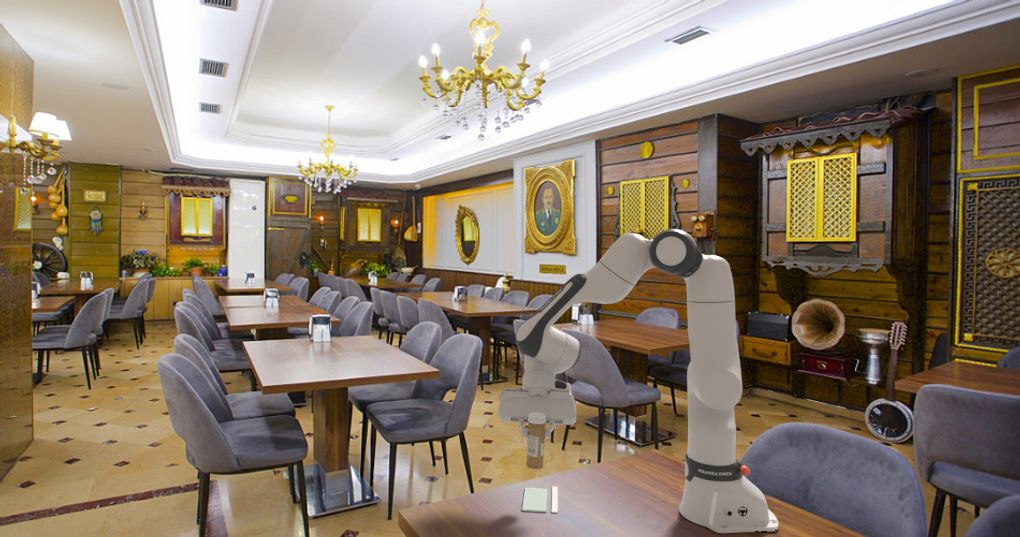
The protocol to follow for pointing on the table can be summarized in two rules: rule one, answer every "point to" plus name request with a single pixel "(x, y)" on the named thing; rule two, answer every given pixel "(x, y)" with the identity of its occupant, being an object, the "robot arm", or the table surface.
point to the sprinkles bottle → (536, 440)
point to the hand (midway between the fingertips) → (536, 437)
